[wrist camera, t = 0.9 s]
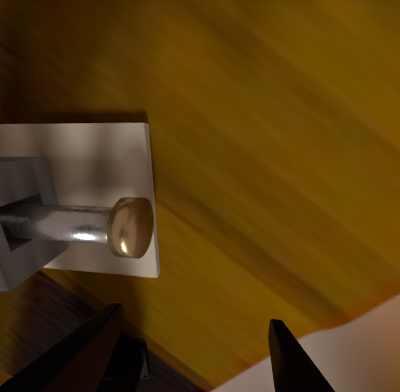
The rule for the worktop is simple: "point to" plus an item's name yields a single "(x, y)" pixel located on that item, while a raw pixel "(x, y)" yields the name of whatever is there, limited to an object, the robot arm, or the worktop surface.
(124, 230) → the shaft
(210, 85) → the worktop surface
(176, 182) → the worktop surface
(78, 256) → the bearing block
